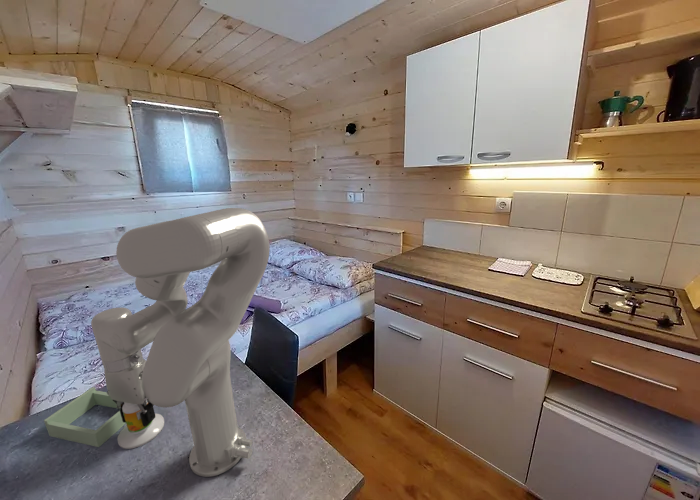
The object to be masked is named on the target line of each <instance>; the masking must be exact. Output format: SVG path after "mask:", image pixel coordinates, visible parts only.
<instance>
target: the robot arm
mask: <svg viewBox="0 0 700 500" xmlns="http://www.w3.org/2000/svg"><path fill="white" fill-rule="evenodd" d="M269 239H270V238H269V236H268V231H267V229H266V227H265V225H264V223H263V222H262V220H261V219H260V218H259V217H258V216H257V215H256V214H255V213H253V211H250V210H249V209H246V208H241V207H227V208H221V209H216V210H213V211H207V212H204V213H198V214H194V215H190V216H184V217H180V218H176V219H172V220H168V221H167V220H166V221H162V222H158V223H153V224H148V225H143V226H139V227H135V228H132V229H130V230H128V231H127V232H125V233H124V234H123V235H122V236H121V237H120V238H119V240H118V243H117V246H116V253H115V254H116V259H117V262H118V264H119V266H120V267H121V269H122V270H123V272H125V273H126V274H128V275H129V276H132V277H134V278H135V281H134V284H135V289H136V290H137V291H138V292H139V293H140V294H141V295H142V296H143V297H145V298H147V299H149V300H152V301H154V303H153V304H151V305H148V306H146V307H144V308H142V309H141V310H139V311H137V312H135V313H132V311H131V310H130V309H129V308H127V307H122V306H121V307H113V308H109V309H105V310H102V311H101V312H98V313H97V314H95V315H94V316H93V317H92V318H91V322H90V323H91V329H92V332H93V336H94V339H95V343H96V346H97V349H98V352H99V356H100V360H101V362H102V363H101V364H102V367H103V371H104V379H105V380H104V381H105V385H106V389H107V391H106V392H107V394H108V395H109V396H110V397H111V399H113V401H114V402H115V403H116V404H117V408H116V409H117V410H119V411H120V414H121V417H122V421H123V422H125V423H126V421H125V417H124V414H123V410H122V407H123V405H124V402H125V403H131V404H137V405H138V407H139V408H140V410H141V413H140V416H141V420H142V424H143V426H145V427H146V426H147V425H148V424H149V423H150V422H151V421H152V420H153V419H154V418H155V414H156V413H155V408H154V406H156V407H159V408H173V407H176V406H179V405H180V404H182V403H183V402H184V404H185V408H186V414H187V418H188V422H189V423H188V424H189V426H190V432H191V436H192V441H193V447H192V449H191V450H190V454H189V458H188V461H189V465H190V469H191V471H192V472H193V473H194V474H195V475H197V476H200V477H206V478H208V477H209V478H210V477H215V476H218V475H221V474H224V473H225V472H227V471H229V470H230V469H232V468H233V467H235V465H237V464H238V462H240V460H241V459H247V460H249V459H251V457H252V455H253V449H252V448H251V447H252V445H253V442H254V441H253V439H249V438H247V435H246V432H245V431H244V430H243V429H241V427H239V426H238V425H239V424H238V420H237V414H236V413H237V412H236V408H235V401H234V394H233V388H232V380H231V357H232V356H231V353H232V351H231V350H232V349H231V343H230V339H231V338H232V337H233V336H234V335H235V333H236V332H237V330H238V328H239V326H240V324H241V323H242V320H243V318H244V315H245V313H246V312H247V309H248V308H249V306H250V303H251V301H252V299H253V296H254V294H255V292H256V291H257V288H258V287H259V284H260V282H261V280H262V278H263V276H264V274H265V271H266V269H267V265H268V263H269V258H270V247H271V246H270V240H269ZM219 262H220V263H219ZM218 263H219V264H218ZM215 264H218V266H217V267H216V268H215V270H214V271H213V273H212V274H211V276H210V278H209V280H208V282H207V284H206V287H205V290H204V292H203V294H202V296H201V297H200V299H199V300H198V301H197V302H195V303H193V304H192V305H191V306H190V307H188V295H187V292H186V290H185V288H184V286H185V284H186V282H187V279H188V277H189V275H190V273H191V272H197V271H200V270H204V269H206V268H209V267H211V266H213V265H215ZM187 307H188V308H187ZM151 343H152V344H151ZM149 344H151V347H150V350H149V353H148V355H147V357H146V359H144V355H143V352H142V349H144V348H145V347H147V346H148V345H149ZM146 400H147V402H148V404H147V405H146V406H144V404H143V403H144V402H145V401H146ZM248 447H249V448H248Z"/></svg>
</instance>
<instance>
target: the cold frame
mask: <svg viewBox="0 0 700 500" xmlns="http://www.w3.org/2000/svg"><path fill="white" fill-rule="evenodd" d="M96 405H97V406H103V407H108V408H114V409H118V408H117V404H116V403H115V402H114V401H113V399H111V397H110V396H109V395H108V394H107V391H102V390H101V391H100V390H96V387H94V386H93V387H90V388H89V389H88V390H86V391H84V392H83V393H82V394H80V395H79V396H77V397H76V398H74V399H73V400H71V401H70V402H68V403H67V404H65V405H64V406H62V407H61V408H60V409H58V410H56V411H55V412H54V413H52V414H51V415H50V416H48V417H47V418H45V419H43V422H44V425H45V427H46V430H47V434H48V436H49V437H52V438H57V439H60V440H65V441H69V442H75V443H78V444H82V445H87V446H92V447H95V448H100V447H101V446H102V445H104V444H105V442H107V441H108V440H109V439H110V438H112V436H114V435H115V434H116V433H117V432H118V431H119V430H120V429H121V428H124V427H125V426H126V423H125V422H123V421H122V417H121V414H120V410H119V411H117V412H116V413H115V414H113V416H111V417H110V418H109V419H107V420H106V421H105V422H104V423H102V424H101V425H100V426H99V427H97V429H92V428H88V427H87V428H86V427H83V426H77V425H73V424H72V423H73V422H75V420H77V419H78V418H80V417H81V416H83V415H84V414H85V413H86V412H88V411H89V410H91V409H92V408H93V407H95V406H96ZM123 426H124V427H123Z"/></svg>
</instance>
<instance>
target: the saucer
mask: <svg viewBox="0 0 700 500" xmlns="http://www.w3.org/2000/svg"><path fill="white" fill-rule="evenodd" d="M164 427H165V418H164V417H163V415H162V414H160V413H155V418H154V419H153V422H152V424H151V425H150V427H149V428H147V429H146V430H144V431H143V432H140V433H137V434H132V433H130V432H129V431H128V428H127V425H126V424H125V425H124V427H122V429H121V430H120V432H119V433H118V435H117V444H118V446H119V447H120V448H122V449H124V450H125V449H126V450H131V449H136V448H140V447H142V446H144V445H146V444H148V443H150V442H151V441H153V440H154V439H155V438H156V437H158V436H159V434H160V433H162V431H163V429H164Z"/></svg>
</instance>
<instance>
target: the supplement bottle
mask: <svg viewBox="0 0 700 500" xmlns="http://www.w3.org/2000/svg"><path fill="white" fill-rule="evenodd" d="M143 404H144V406H146V405H147V404H148V402H147V400H146V401H145V402H144V403H143ZM122 410H123V414H124V417H125V421H126V424H125V426H126V425H127V428H128V431H129V432H130V433H132V434H137V433H140V432H143V431H144V430H146V429H147V428H149V427H150V425H151V424H152V422H153V420H152V421H151V422H150V423H149V424H148V425H147V426H146V427H145V426H143V424H142V420H141V416H140V413H141V410H140V408H139V407H138V405H137V404H131V403H125V402H124V405H123V407H122Z"/></svg>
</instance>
